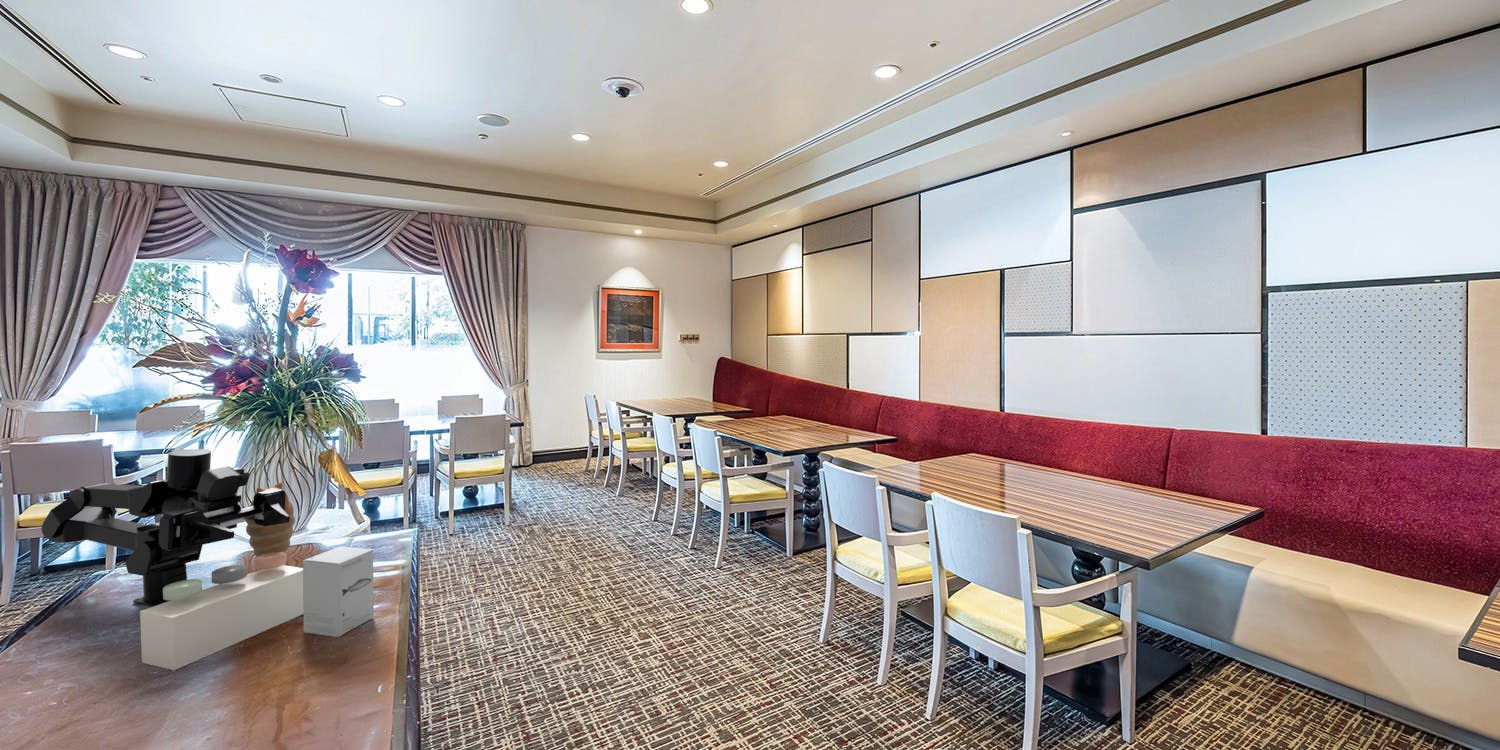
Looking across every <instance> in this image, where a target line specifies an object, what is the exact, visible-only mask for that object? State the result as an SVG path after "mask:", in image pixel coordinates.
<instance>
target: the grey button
mask: <svg viewBox="0 0 1500 750" xmlns="http://www.w3.org/2000/svg"><path fill="white" fill-rule="evenodd" d="M247 568H248V567H247V565H246V564H232V565H228V566H227V565H226V566H221V567H220V568H216V569H214V570H212V571H211V573H210V575H211V584H214V585H215V584H216V585H218V584H224V583H231V582H235V581H238V580H241V579H243V578H245V577H246V576H247V575H248V569H247Z"/></svg>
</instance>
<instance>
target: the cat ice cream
mask: <svg viewBox="0 0 1500 750" xmlns="http://www.w3.org/2000/svg"><path fill="white" fill-rule="evenodd" d="M275 488H277V489H280V490H283V482H278V483H277V484H275V485H274V487H270V488H265V489H263V488H261V487H257V488H256V492H255V494H257V493H258V492H262V491H266V490H271V489H275ZM253 501H254V499H253V500H252V501H251V503H250V506H249V507H251V506H253ZM294 511H295V510H294V506H293V503H292V502H291V501H290V499H289V496H288V494H287V493H286V497H285V512H286V513H287V514H288V515H289V516H290V521H289V522H288V523H283V524H277V525H271V526H265V527H263V525H257V524H255V522H254V520H249V521H246V523H247V525H246V527H245V531H246V534H247V535H248V536H249V541H248V543H249V546H250V547H251V548H252V549H253V555H255V557H257V556H260V555H263V554H267V553H273V552H284V553H286V552H287V551H288V550H289V548H290V547H291V538H292V536H293V534H294V525H295V522H296V517H295V516H294Z"/></svg>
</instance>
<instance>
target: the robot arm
mask: <svg viewBox="0 0 1500 750" xmlns="http://www.w3.org/2000/svg"><path fill="white" fill-rule="evenodd" d="M211 459H212V450H210V449H208V448H199V449H198V448H197V449H196V448H195V449H193V448H192V449H190V448H189V449H184V448H177V449H171V450H170V449H169V451H168V453H167V472H166V479H162V480H157V481H156V480H155V481H150V482H148V483H147V484H145V485H135V484H134V485H133V484H132V485H131V484H115V483H111V482H110V483H108V482H103V483H101V482H100V483H97V484H90V485H85V486H80V487H79V488H76V489H74V490H73V491H72V493H71V494H70V496H69V497H68V498H66V499H65V500H64V501H62V502H61V503H59V504H57V505H55V507H53V508H52V509H51V510H50V511H49V513H48V514H47V515H46V517H45V519H44V521H43V523H42V525H41V533H42V535H43V537H45V539H48V540H49V542H51V543H53V544H66V543H73V542H81V541H82V542H83V541H89V542H93V543H98V544H103V545H106V546H110V547H115V548H118V549H123V550H126V551H128V550H129V551H132V552H131V554H130V555H129V557H128V558H127V559H126V560H125V562H124V564H125V567H126V570H127V573H128V574H131V575H138V576H142V585H143V587H142V589H143V590H142V591H143V596H141V597H138V598H135V599H132V600H133V601H132V603H133V604H138V605H142V606H148V607H150V608H151V607H154V606H157V605H160V604H163V603H165V602H168V601H171V600H164V599H163V588H164V587H165V586H167V585H169V584H172V583H175V582H179V581H183V580H188V574H187V564H188V563H192V562H197V561H199V560H200V557H201V552H202V550H203V546H204V545H207V544H212V543H218V542H221V541H226V540H230V539H234V538H235V531H234V530H233V529H235V528H238V525H239V524H241V523H245V522H246V521H249V520H254V522H255V524H257V525H263V527H265V526H271V525H277V524H283V523H288V522H289V521H290V516H289V515H288V514H287V513H286V512H285V497H286V494H287V492H286V491H285V490H284V489H282V490H280V489H277V488H275V489H271V490H266V491H262V492H258V493H257V494H256V493H255V494H254V495H253V500H254V501H253V506H251V507H250V506H248V507H244V508H242V507H241V505H240V504H239V503H241V502H242V494H240V493H239V494H238V490H239V488H241V487H245V486H247V484H248V482H249V478H250V473H249V471H247V470H245V468H243V467H240V468H239V467H238V466H222V467H219V468H218V467H217V468H212V469H211V461H212V460H211ZM117 509H124V510H128V514H130V515H132V516H135V517H138V518H141V519H146V518H151V517H156V516H159V515H161V517H160V518H159V522H156V523H152V524H144V523H143V524H142V523H138V522H135V521H130V520H124V519H120V518H115V516H116V514H117V512H118V511H117ZM246 523H247V522H246Z"/></svg>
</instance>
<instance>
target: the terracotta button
mask: <svg viewBox="0 0 1500 750" xmlns="http://www.w3.org/2000/svg"><path fill="white" fill-rule="evenodd" d="M253 563H254V564H253V565H254V568H253V569H256V570H262V569H271V568H275V567H279V566H282V565H285V564H286V563H287V553H286V552H285V553H284V552H273V553H267V554H263V555H260V556H257V557H256V556H255V557H254V559H253Z"/></svg>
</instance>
